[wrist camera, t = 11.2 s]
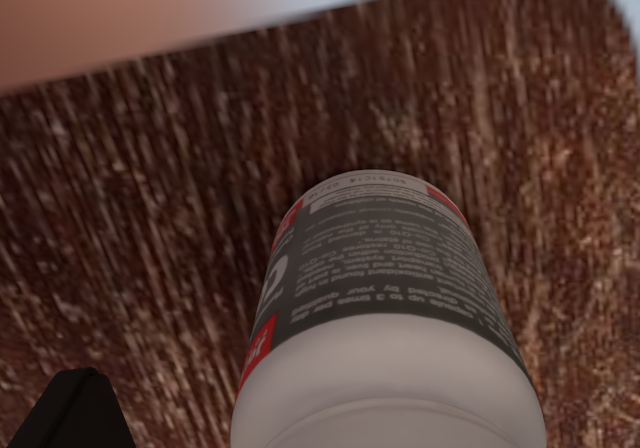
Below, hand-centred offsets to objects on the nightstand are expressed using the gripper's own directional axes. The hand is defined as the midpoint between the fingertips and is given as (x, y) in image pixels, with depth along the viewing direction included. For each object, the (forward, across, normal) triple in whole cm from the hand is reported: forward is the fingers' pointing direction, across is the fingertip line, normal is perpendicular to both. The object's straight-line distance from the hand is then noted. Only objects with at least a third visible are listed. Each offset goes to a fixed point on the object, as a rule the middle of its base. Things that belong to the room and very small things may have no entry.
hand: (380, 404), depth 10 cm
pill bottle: (+5, 0, 0) cm, 5 cm away
